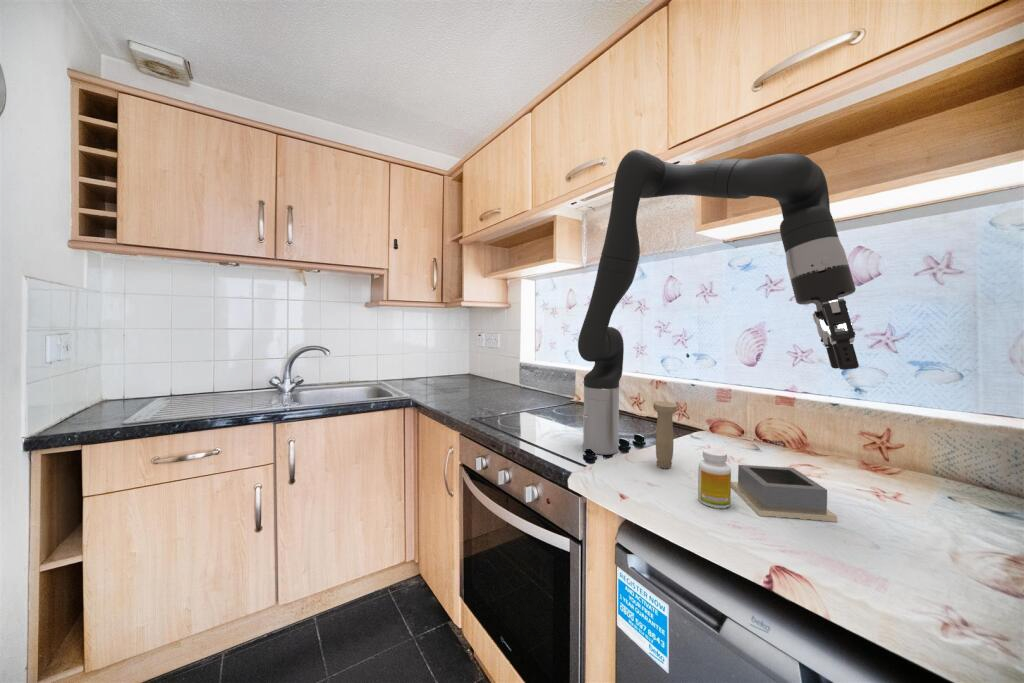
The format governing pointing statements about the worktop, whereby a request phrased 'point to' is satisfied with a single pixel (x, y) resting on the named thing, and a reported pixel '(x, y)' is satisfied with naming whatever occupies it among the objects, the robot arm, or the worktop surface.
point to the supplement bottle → (714, 479)
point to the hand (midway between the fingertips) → (844, 368)
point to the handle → (664, 433)
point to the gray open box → (782, 493)
